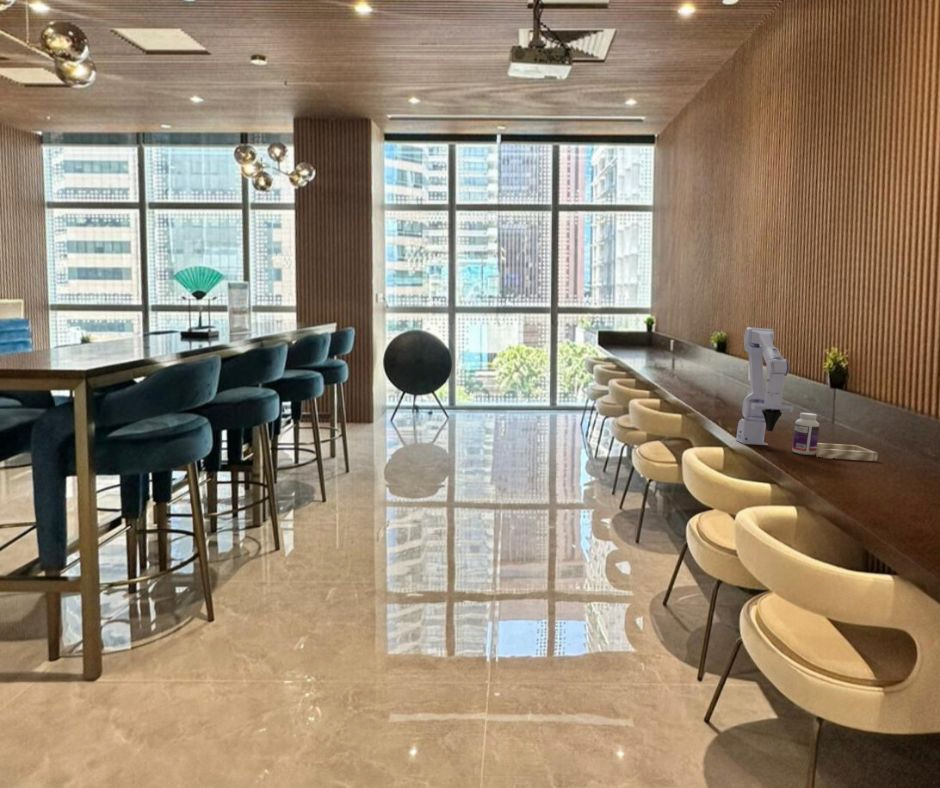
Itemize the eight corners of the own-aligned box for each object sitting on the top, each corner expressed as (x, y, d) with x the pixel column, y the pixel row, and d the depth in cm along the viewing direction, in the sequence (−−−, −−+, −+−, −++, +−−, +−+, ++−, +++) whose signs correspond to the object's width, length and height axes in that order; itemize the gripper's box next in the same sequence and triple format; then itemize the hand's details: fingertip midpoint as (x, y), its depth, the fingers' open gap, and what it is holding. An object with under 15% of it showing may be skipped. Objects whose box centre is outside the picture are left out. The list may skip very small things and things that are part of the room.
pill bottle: (811, 452, 285) (816, 413, 283) (818, 456, 277) (824, 416, 275) (788, 450, 286) (793, 411, 284) (795, 454, 278) (800, 414, 276)
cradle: (818, 457, 275) (819, 449, 275) (800, 449, 288) (801, 441, 288) (876, 461, 277) (877, 452, 277) (855, 453, 290) (857, 445, 289)
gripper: (759, 393, 273) (754, 431, 275) (799, 395, 274) (794, 434, 276) (750, 390, 280) (746, 427, 282) (789, 393, 281) (785, 430, 283)
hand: (769, 430), depth 279 cm, fingers closed
